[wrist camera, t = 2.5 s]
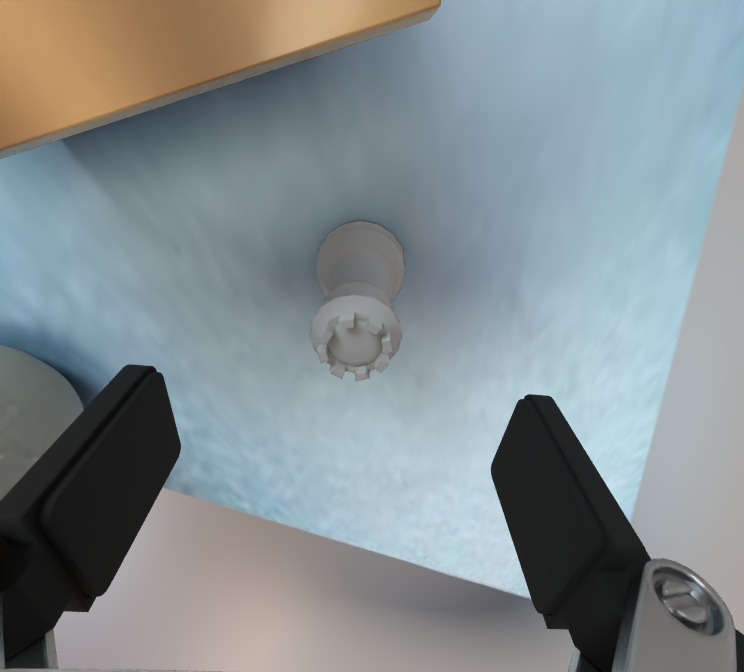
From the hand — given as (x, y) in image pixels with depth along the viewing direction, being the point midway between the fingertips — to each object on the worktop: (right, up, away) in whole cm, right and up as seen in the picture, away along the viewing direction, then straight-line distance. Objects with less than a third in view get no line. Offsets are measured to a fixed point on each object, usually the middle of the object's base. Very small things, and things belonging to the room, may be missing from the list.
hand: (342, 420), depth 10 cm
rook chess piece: (0, +6, +9) cm, 11 cm away
